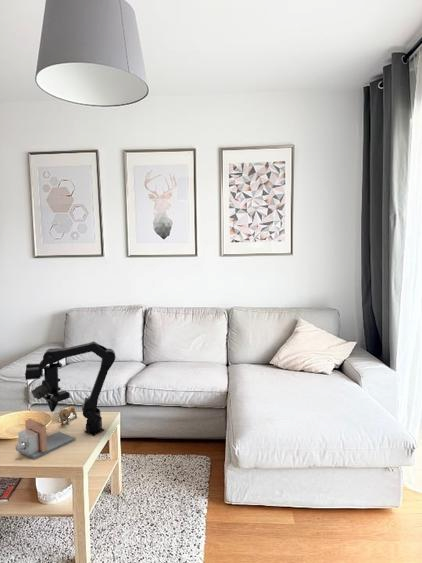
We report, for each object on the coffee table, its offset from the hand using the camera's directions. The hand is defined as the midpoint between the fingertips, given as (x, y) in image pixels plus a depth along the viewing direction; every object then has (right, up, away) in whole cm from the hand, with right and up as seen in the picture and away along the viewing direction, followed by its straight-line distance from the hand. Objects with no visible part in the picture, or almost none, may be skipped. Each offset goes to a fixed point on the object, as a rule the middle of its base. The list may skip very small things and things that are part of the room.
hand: (52, 411), depth 168 cm
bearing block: (-4, -12, -14) cm, 19 cm away
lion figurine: (+1, -11, +16) cm, 20 cm away
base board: (+1, -12, -7) cm, 14 cm away
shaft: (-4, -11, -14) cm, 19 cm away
